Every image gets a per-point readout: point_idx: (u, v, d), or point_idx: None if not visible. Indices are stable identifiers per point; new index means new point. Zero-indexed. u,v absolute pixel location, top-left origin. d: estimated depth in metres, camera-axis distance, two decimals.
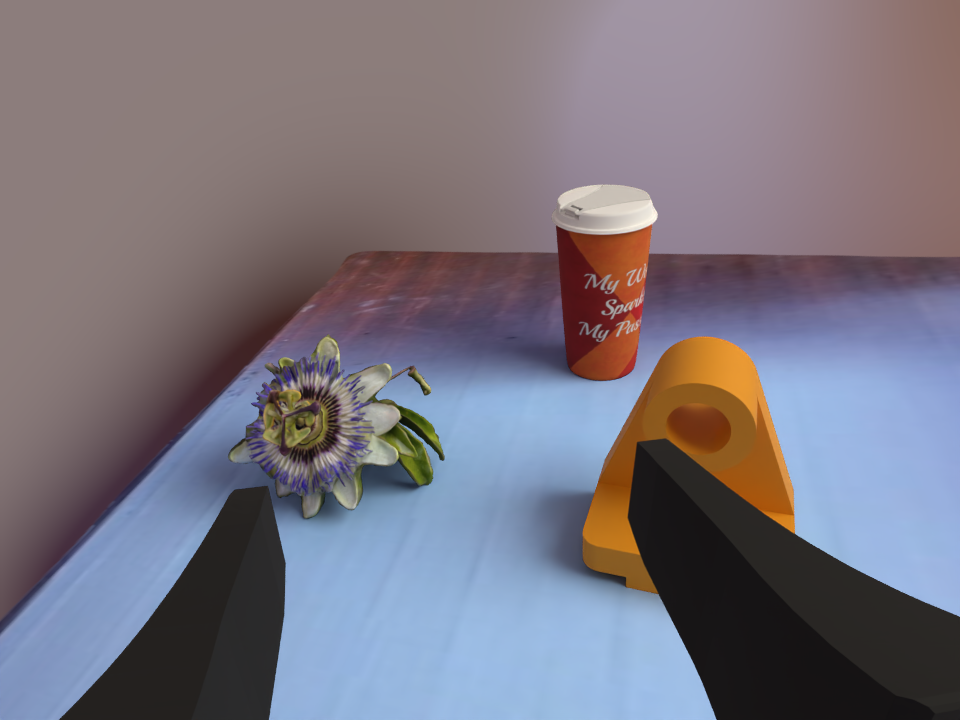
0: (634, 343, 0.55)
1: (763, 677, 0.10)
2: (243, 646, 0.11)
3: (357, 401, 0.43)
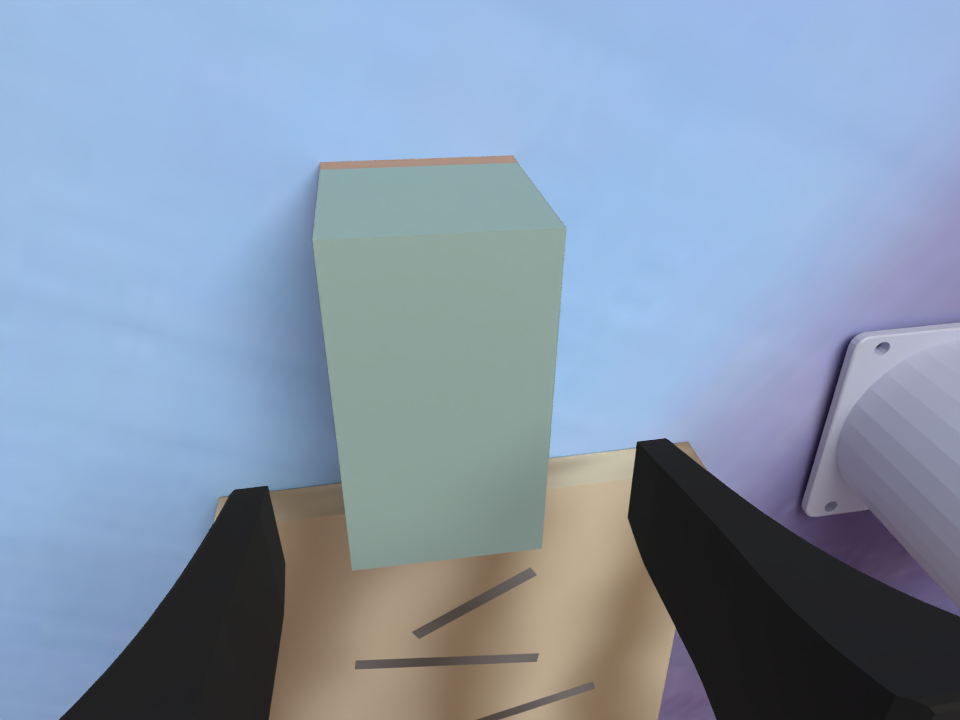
0: None
1: (763, 677, 0.10)
2: (243, 646, 0.11)
3: None
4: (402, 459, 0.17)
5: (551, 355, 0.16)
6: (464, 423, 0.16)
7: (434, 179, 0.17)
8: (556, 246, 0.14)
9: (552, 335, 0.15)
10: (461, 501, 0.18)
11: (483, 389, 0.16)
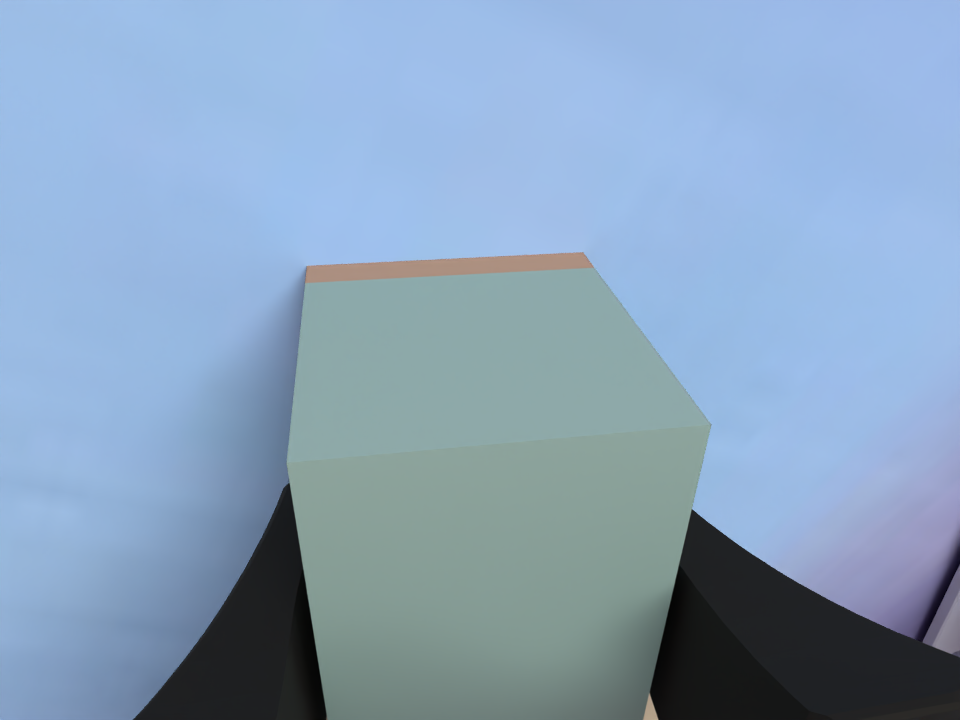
0: None
1: (699, 687, 0.10)
2: (308, 636, 0.11)
3: None
4: None
5: (664, 594, 0.10)
6: (523, 685, 0.11)
7: (477, 304, 0.11)
8: (691, 451, 0.09)
9: (668, 569, 0.10)
10: None
11: (557, 643, 0.10)
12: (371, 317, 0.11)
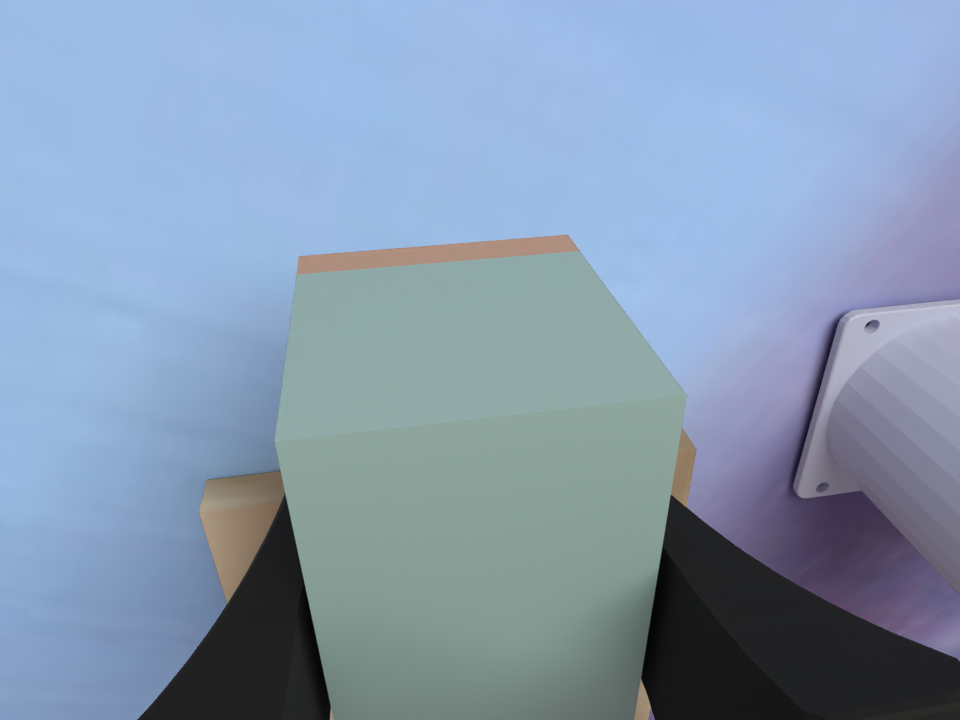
0: None
1: (695, 688, 0.10)
2: (312, 636, 0.11)
3: None
4: (427, 709, 0.11)
5: (651, 565, 0.10)
6: (518, 657, 0.11)
7: (463, 289, 0.11)
8: (669, 422, 0.09)
9: (654, 540, 0.10)
10: None
11: (549, 615, 0.11)
12: (359, 304, 0.11)
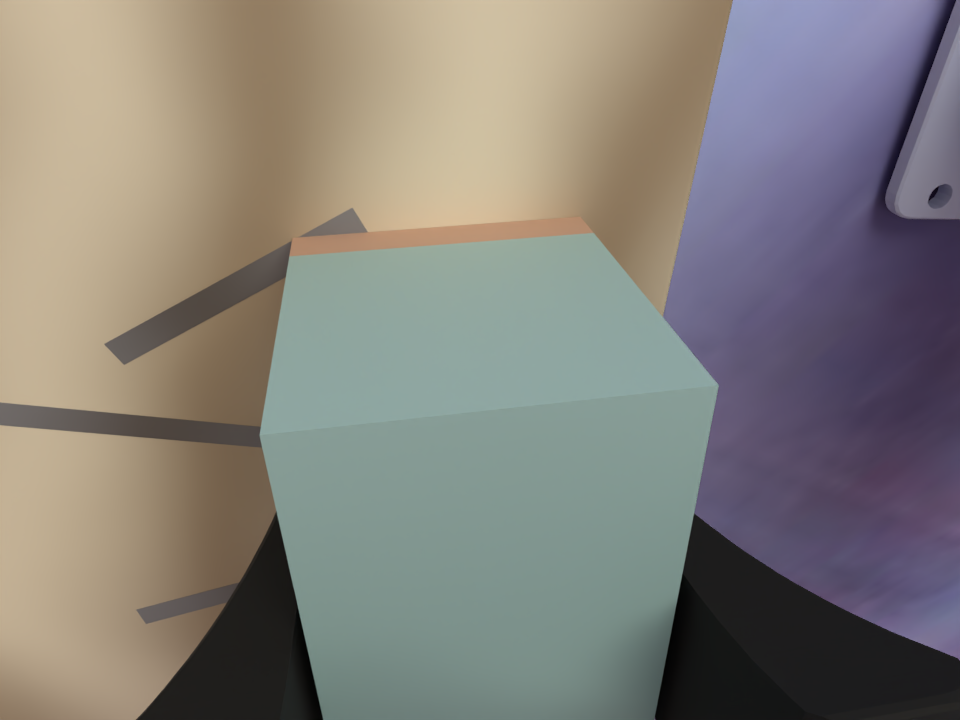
0: None
1: (696, 688, 0.10)
2: None
3: None
4: None
5: (674, 572, 0.09)
6: (528, 672, 0.10)
7: (469, 272, 0.11)
8: (698, 415, 0.08)
9: (678, 545, 0.09)
10: None
11: (561, 626, 0.10)
12: (357, 288, 0.10)
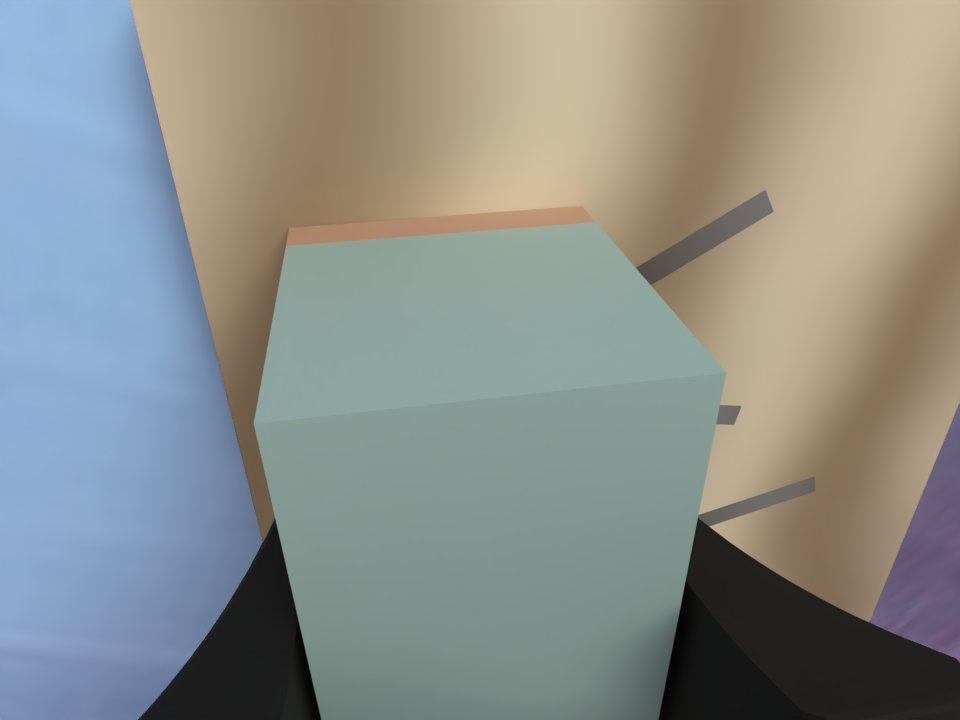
0: None
1: (695, 688, 0.10)
2: None
3: None
4: None
5: (680, 566, 0.09)
6: (530, 668, 0.10)
7: (470, 260, 0.10)
8: (705, 404, 0.08)
9: (684, 538, 0.09)
10: None
11: (564, 622, 0.09)
12: (355, 276, 0.10)
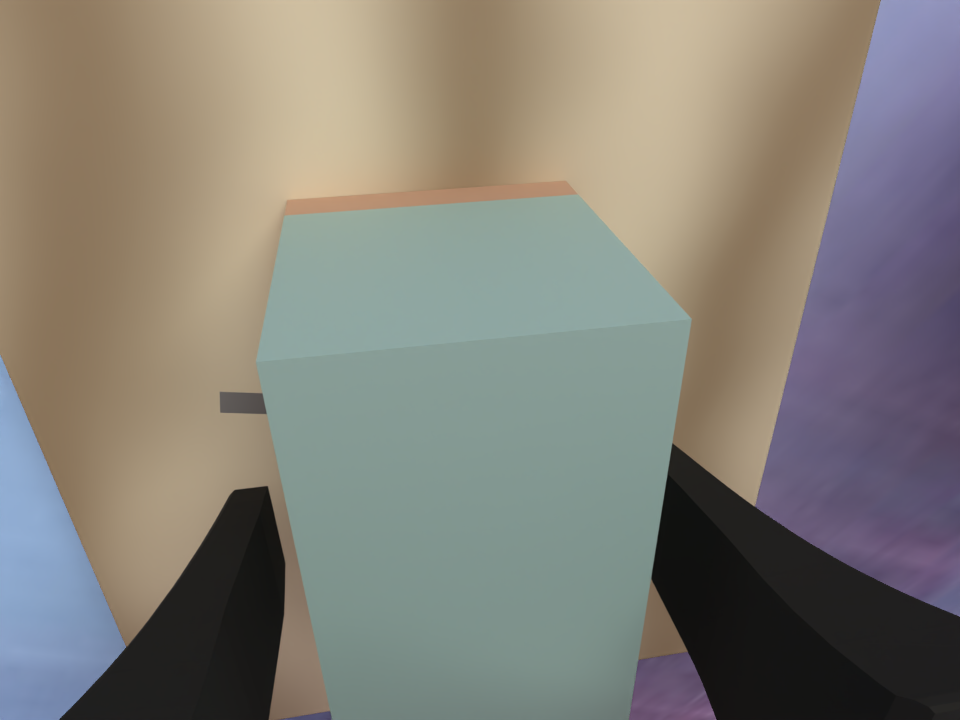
0: None
1: (763, 677, 0.10)
2: (243, 646, 0.11)
3: None
4: (420, 663, 0.11)
5: (654, 508, 0.10)
6: (515, 608, 0.10)
7: (458, 227, 0.11)
8: (673, 349, 0.09)
9: (657, 480, 0.10)
10: (509, 706, 0.12)
11: (546, 562, 0.10)
12: (349, 241, 0.11)
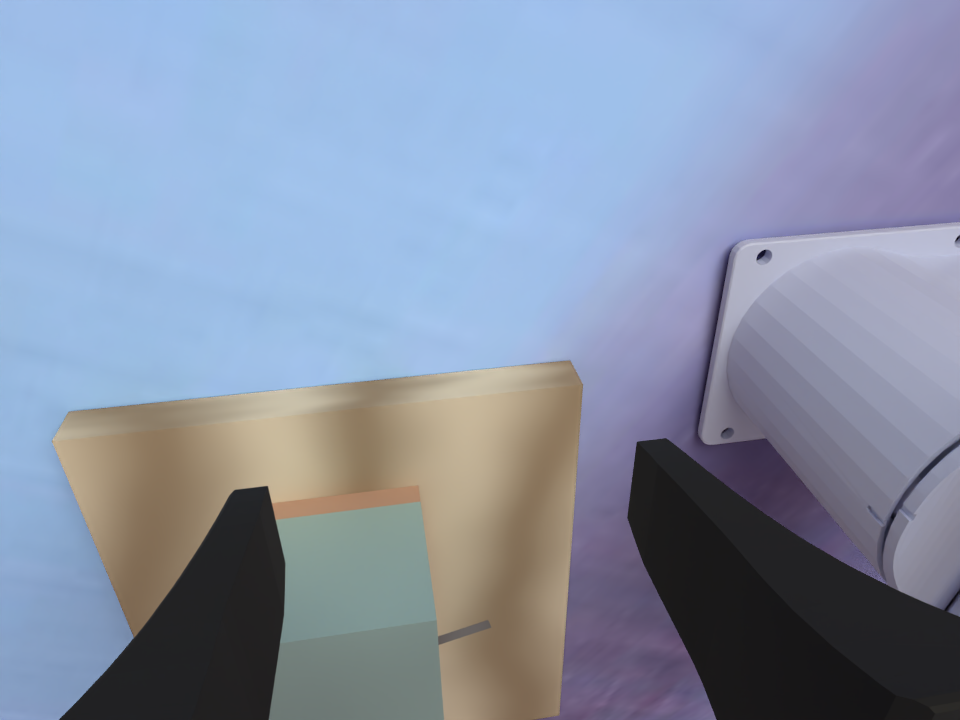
0: None
1: (763, 677, 0.10)
2: (243, 646, 0.11)
3: None
4: None
5: (437, 688, 0.21)
6: None
7: (350, 536, 0.22)
8: (431, 630, 0.19)
9: (436, 677, 0.20)
10: None
11: (387, 712, 0.21)
12: (294, 548, 0.21)
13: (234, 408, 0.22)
